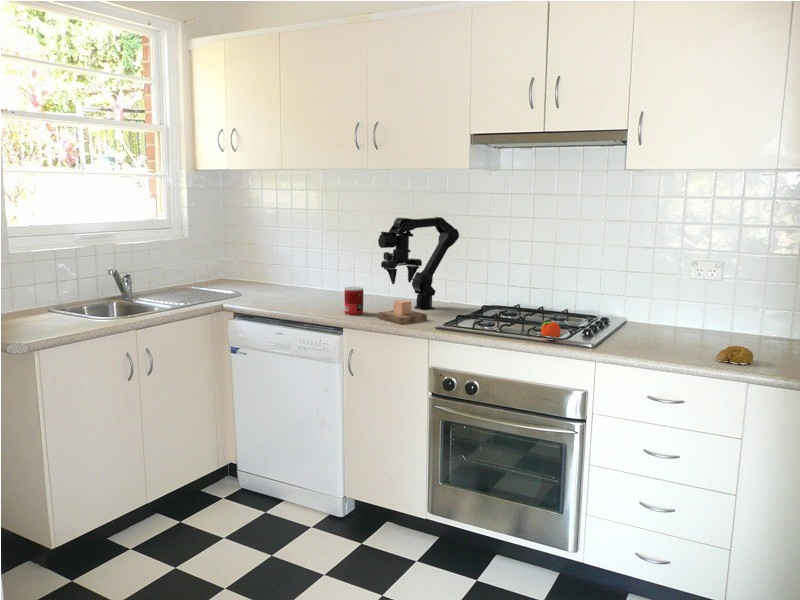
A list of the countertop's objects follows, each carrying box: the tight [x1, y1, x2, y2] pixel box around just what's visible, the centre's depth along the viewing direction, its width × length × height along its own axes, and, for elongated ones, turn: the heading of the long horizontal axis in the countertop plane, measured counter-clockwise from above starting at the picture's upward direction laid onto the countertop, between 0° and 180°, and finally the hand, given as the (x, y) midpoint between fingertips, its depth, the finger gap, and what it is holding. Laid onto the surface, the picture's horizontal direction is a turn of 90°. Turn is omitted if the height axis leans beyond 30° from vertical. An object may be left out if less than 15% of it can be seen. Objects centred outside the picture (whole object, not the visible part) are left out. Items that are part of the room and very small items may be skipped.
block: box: [393, 299, 412, 315], centre depth 272 cm, size 5×5×5 cm
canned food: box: [344, 286, 364, 316], centre depth 282 cm, size 8×8×11 cm
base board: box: [377, 309, 428, 325], centre depth 272 cm, size 14×14×2 cm
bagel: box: [715, 345, 754, 364], centre depth 216 cm, size 10×11×5 cm
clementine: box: [539, 320, 562, 338], centre depth 240 cm, size 8×7×7 cm
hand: (401, 283), depth 289 cm, fingers open, 9 cm apart
